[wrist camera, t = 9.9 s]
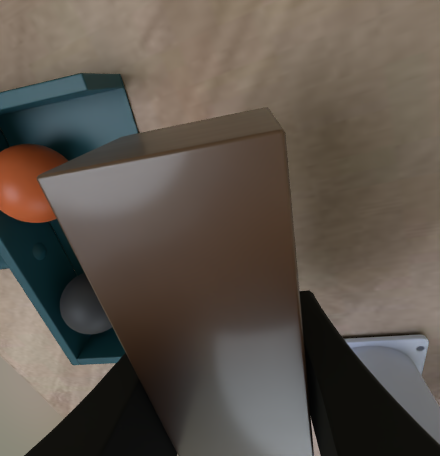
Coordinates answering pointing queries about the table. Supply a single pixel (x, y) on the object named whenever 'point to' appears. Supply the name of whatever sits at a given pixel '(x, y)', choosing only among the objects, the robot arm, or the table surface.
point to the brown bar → (198, 277)
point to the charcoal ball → (83, 307)
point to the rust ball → (26, 181)
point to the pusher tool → (42, 232)
